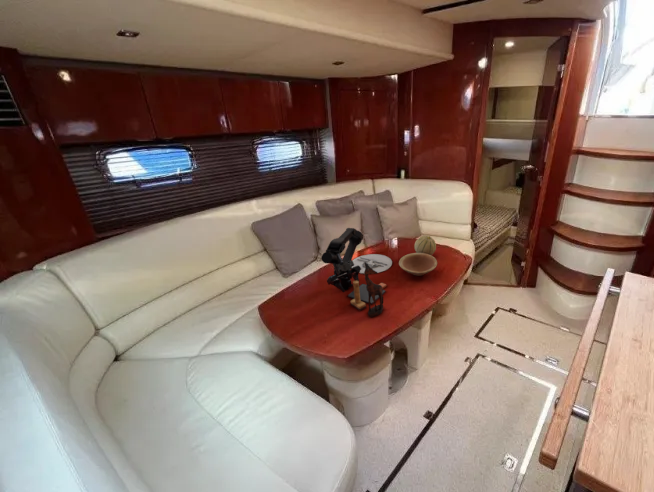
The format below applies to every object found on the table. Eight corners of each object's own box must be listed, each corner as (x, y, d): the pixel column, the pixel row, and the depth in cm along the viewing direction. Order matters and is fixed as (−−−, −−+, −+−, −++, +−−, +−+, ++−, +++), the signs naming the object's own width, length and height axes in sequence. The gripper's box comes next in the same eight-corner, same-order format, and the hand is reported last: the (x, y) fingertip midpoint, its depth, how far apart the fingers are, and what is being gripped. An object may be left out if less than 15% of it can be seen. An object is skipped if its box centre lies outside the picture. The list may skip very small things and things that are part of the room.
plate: (400, 260, 206) (400, 258, 205) (375, 278, 185) (375, 276, 185) (367, 251, 219) (367, 250, 219) (341, 267, 199) (341, 265, 198)
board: (347, 296, 168) (347, 295, 167) (362, 285, 178) (362, 283, 178) (371, 304, 161) (371, 303, 160) (385, 291, 171) (385, 290, 171)
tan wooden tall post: (350, 304, 161) (347, 280, 154) (356, 301, 163) (354, 277, 156) (360, 310, 156) (357, 286, 149) (366, 307, 158) (363, 283, 151)
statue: (372, 321, 148) (367, 267, 134) (362, 315, 152) (357, 262, 138) (388, 310, 156) (385, 258, 142) (378, 305, 160) (375, 254, 146)
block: (377, 286, 176) (376, 285, 176) (381, 284, 179) (381, 282, 178) (381, 289, 174) (381, 287, 173) (386, 286, 176) (386, 284, 176)
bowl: (393, 277, 185) (393, 266, 181) (407, 261, 204) (407, 250, 201) (430, 284, 177) (430, 272, 173) (441, 266, 196) (441, 255, 193)
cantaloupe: (413, 252, 217) (413, 232, 210) (433, 250, 218) (433, 231, 211) (416, 261, 204) (416, 240, 197) (437, 259, 205) (438, 239, 198)
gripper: (326, 262, 149) (341, 290, 147) (357, 251, 160) (371, 277, 158) (321, 271, 158) (334, 297, 156) (351, 260, 169) (364, 284, 167)
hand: (351, 288), depth 159 cm, fingers open, 9 cm apart
